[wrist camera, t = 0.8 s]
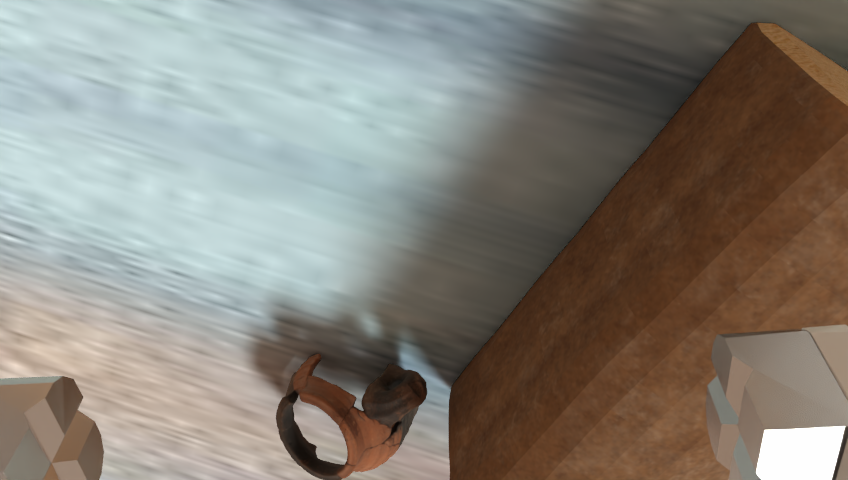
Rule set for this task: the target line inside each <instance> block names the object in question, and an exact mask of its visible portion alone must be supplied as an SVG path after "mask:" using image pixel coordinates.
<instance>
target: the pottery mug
mask: <svg viewBox="0 0 848 480" xmlns="http://www.w3.org/2000/svg"><path fill="white" fill-rule="evenodd" d="M321 358H322V357H321V355H320V354H316V355H313V356H312V357H309V358H308V359H307V361H306V362H304V363H303V364H302V365H301V367H300V369H298V371H297V372H295V373H294V374H293V376H292V378H291V381H290V384H289V387H288V390H287V393H286V396H285V397H283V398H282V400H281V402H280V403H279V406H278V409H277V414H276V421H277V427H278V429H279V434H280V438H281V440H282V442H283V444H284V446H285V448H286V450H287V451H288V453H289V454H290V455H291V457H292V458H293V459H294V461H296V463H297V464H298V465H299V466H301V467H302V468H303V469H304V470H306V471H307V472H308V473H310V474H311V475H313V476H315V477H317V478H319V479H323V480H341V479H342V478H346V477H348V476H349V475H350V474H351V473H352V472H353V471H355V472H358V471H360V472H364V471H368V470H372V469H375V468H376V467H378V466H379V465H381V464H383V463H385V462H386V461H387V460H388V459H389V458H390V457H391V456H393V455H394V453H395V452H396V451H397V450H398V448H399V447H400V445H401V444H402V442H403V440H404V438H405V435H406V434H407V433H408V431H409V428H410V426H411V424H412V421H413V418H414V416H415V415H416V413H417V410H418V407H419V405H421V404H422V403H423V401H424V400H425V398H426V395H427V388H426V382H425V380H424V379H423V378H422V377H421V376H420V374H419V373H418V372H415V371H412V370H404V369H402V368H400V367H399V366H397V365H394V364H389V365H388V366H387V368H386V369H385V371H384V372H383V374H382V375H381V377H378V378H377V379H376V380H375V382H374V383H371V384H370V385H369V386H368V387H367V389H366V391H365V394H364V396H363V398H362V407H363V409H364V411H361V410H359V409H357V408H356V407H354V404H355V401H356V397H355V396H354V395H352V394H350V393H348V392H347V391H345V390H343V389H342V388H340V387H338V386H337V385H334V384H331V383H329V382H327V381H325V380H323V379H321V378H319V377H315V376H312V373H313V370H314V368H315V367H316V365H317V364H318V363H319V362H320V360H321ZM298 395H300V399H301V401H302V402H306V403H309V404H312V405H315V406H317V407H319V408H320V409H322V410H323V411H324V412H325V413H327V414H328V415H329V416H330V417H331V418H332V419H333V420H334V421H335V422H336V423H337V424H338V425H339V428H340V430H341V431H342V433H343V435H344V438H345V441H346V445H347V450H348V458H347V462H346V463H345V465H340V464H334V463H330V462H326V461H322V460H320V459H318V458H317V455H316V448H317V447H316V446H315V445H314V444H311V443H309V442H308V441H307V440H306V439H305V438H304V437H303V435H302V433H301V431H300V429H299V427H298V425H297V424H296V422H295V421H294V412H293V404H294V403H295V402H296V400H297V398H298Z"/></svg>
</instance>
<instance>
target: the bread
mask: <svg viewBox="0 0 848 480" xmlns="http://www.w3.org/2000/svg"><path fill="white" fill-rule="evenodd" d="M832 325H847V326H848V71H847V70H845V69H844V68H842V67H841V66H839V65H838V64H836V63H835V62H833V61H832V60H830V59H829V58H827V57H826V56H824V55H823V54H821V53H820V52H818V51H817V50H815V49H814V48H812V47H811V46H809V45H808V44H806V43H805V42H803V41H801V40H800V39H798V38H797V37H795V36H794V35H792V34H791V33H789V32H788V31H786V30H784V29H783V28H781V27H780V26H778V25H777V24H774V23H751V24H750V25H749V26H748V27H747V29H746V30H745V31H744V32H743V33H742V34H741V36H740V37H739V38H738V39H737V40H736V41H735V43H734V44H733V45H732V46H731V47H730V48H729V49H728V51H727V52H726V53H725V54H724V55H723V56H722V57H721V59H720V60H719V61H718V62H717V63H716V65H715V66H714V67H713V68H712V69H711V71H710V72H709V73H708V74H707V76H706V77H705V78H704V79H703V81H702V82H701V83H700V84H699V85H698V87H697V88H696V89H695V90H694V92H693V93H692V94H691V95H690V97H689V98H688V99H687V100H686V101H685V103H684V104H683V105H682V106H681V108H680V109H679V110H678V111H677V113H676V114H675V115H674V116H673V118H672V119H671V120H670V121H669V122H668V124H667V125H666V126H665V127H664V129H663V130H662V131H661V132H660V133H659V135H658V136H657V137H656V138H655V139H654V141H653V142H652V143H651V144H650V146H649V147H648V148H647V149H646V150H645V151H644V153H643V154H642V155H641V156H640V157H639V158H638V159H637V161H636V162H635V163H634V164H633V165H632V166H631V167H630V169H629V170H628V171H627V172H626V173H625V174H624V176H623V177H622V178H621V179H620V180H619V182H618V183H617V184H616V185H615V187H614V188H613V189H612V190H611V192H610V193H609V194H608V195H607V196H606V198H605V199H604V200H603V201H602V203H601V204H600V205H599V206H598V208H597V209H596V210H595V212H594V213H593V214H592V215H591V217H590V218H589V219H588V221H587V222H586V223H585V224H584V226H583V227H582V228H581V230H580V231H579V232H578V233H577V234H576V236H575V237H574V238H573V239H572V240H571V241H570V242H569V244H568V245H567V246H566V247H565V248H564V249H563V250H562V251H561V253H560V254H559V255H558V256H557V257H556V258H555V260H554V261H553V262H552V263H551V264H550V266H549V267H548V268H547V269H546V270H545V272H544V273H543V274H542V275H541V276H540V278H539V279H538V280H537V281H536V282H535V284H534V285H533V286H532V287H531V289H530V290H529V291H528V293H527V294H526V295H525V296H524V298H523V299H522V300H521V301H520V303H519V304H518V305H517V307H516V308H515V309H514V310H513V312H512V313H511V314H510V315H509V317H508V318H507V319H506V320H505V322H504V323H503V324H502V325H501V327H500V328H499V329H498V330H497V331H496V333H495V334H494V335H493V336H492V337H491V338H490V339H489V341H488V342H487V343H486V344H485V345H484V346H483V348H482V349H481V350H480V351H479V352H478V354H477V355H476V356H475V357H474V358H473V360H472V361H471V362H470V363H469V365H468V366H467V367H466V368H465V370H464V371H463V372H462V374H461V375H460V376H459V378H458V379H457V380H456V381H455V383H454V384H453V385H452V387H451V393H450V399H449V459H450V480H729V475H730V470H728V469H727V468H726V467H724V466H723V465H722V464H721V463H719V462H718V461H717V460H716V457H715V454H714V451H713V448H712V445H711V442H710V437H709V433H708V429H707V418H706V395H707V385H708V384H709V383H710V382H711V381H712V380H713V379H714V378H715V377H717V373H716V371H715V368H714V365H713V363H712V360H711V355H712V348H713V343H714V340H715V338H716V336H717V334H731V333H745V332H759V331H773V330H787V329H802V328H807V327H820V326H832Z"/></svg>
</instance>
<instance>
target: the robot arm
mask: <svg viewBox="0 0 848 480" xmlns="http://www.w3.org/2000/svg"><path fill="white" fill-rule="evenodd" d="M711 360H712V363H713V365H714V368H715V371H716V373H717V377H715V378H714V379H713V380H712V381H711V382H710V383H709V384H708V385H707V395H706V418H707V429H708V433H709V437H710V442H711V445H712V448H713V451H714V454H715V457H716V460H717V461H718V462H719V463H721V464H722V465H723V466H724V467H726V468H727V469H728V470H730V475H729V480H848V326H847V325H832V326H820V327H807V328H802V329H787V330H773V331H759V332H745V333H731V334H717V336H716V338H715V340H714V343H713V348H712V355H711ZM82 399H83V396H82V394H81V392H80V390H79V389H78V387H77V385H76V383H75V381H74V379H71V378H68V377H64V376H56V377H31V378H5V379H0V480H99V478H100V476H101V472H102V463H103V454H104V450H103V445H102V439H101V434H100V432H99V430H98V428H97V426H96V423H95V421H93V420H92V419H90V418H89V417H87V416H86V415H84V414H83V413H81V412H80V411H78V408H79V406H80V403H81V401H82Z"/></svg>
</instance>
